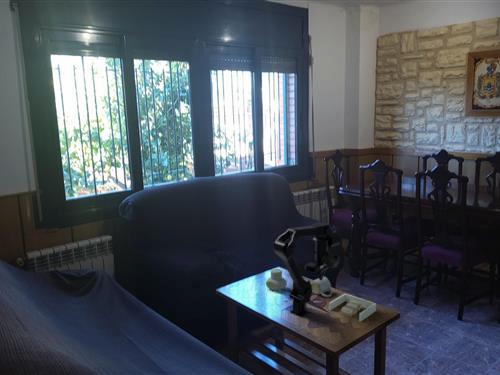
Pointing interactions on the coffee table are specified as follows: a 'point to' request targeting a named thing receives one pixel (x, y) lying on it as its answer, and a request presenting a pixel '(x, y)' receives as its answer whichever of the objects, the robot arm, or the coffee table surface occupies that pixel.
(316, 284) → the ceramic mug
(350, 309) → the tile
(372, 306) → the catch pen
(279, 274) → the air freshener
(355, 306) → the tile
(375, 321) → the coffee table surface
